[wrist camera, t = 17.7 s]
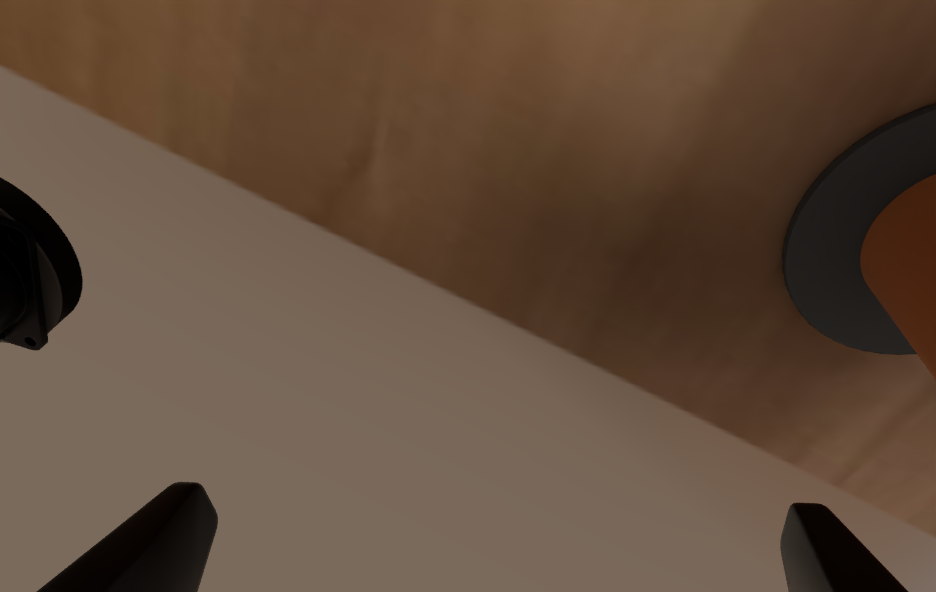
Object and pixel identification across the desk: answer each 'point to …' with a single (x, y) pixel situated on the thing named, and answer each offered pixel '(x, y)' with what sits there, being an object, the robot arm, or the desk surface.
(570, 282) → the desk surface
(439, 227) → the desk surface
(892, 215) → the tea tin
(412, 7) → the desk surface
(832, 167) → the coaster
